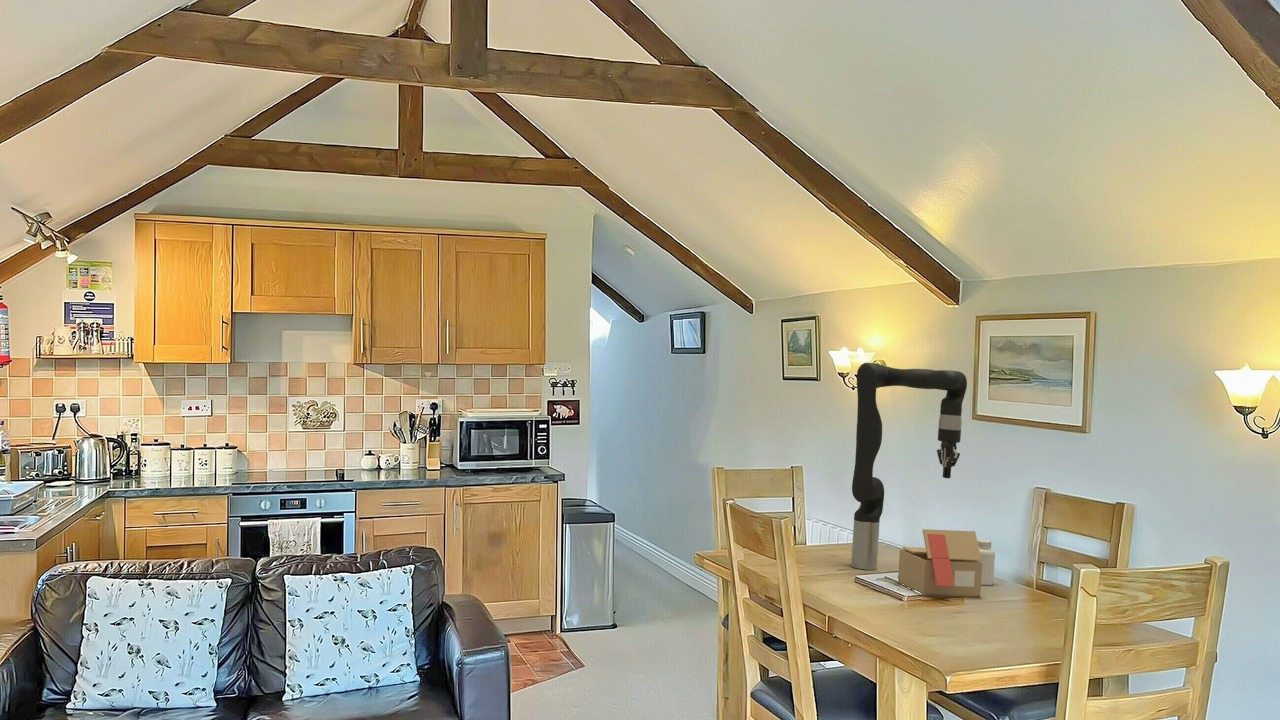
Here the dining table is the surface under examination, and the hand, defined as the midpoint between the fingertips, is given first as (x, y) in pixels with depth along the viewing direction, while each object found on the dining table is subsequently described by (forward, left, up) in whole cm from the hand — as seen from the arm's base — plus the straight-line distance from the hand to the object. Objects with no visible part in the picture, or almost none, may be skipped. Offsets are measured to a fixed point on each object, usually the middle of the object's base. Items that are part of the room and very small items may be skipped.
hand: (946, 478), depth 336 cm
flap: (+20, -6, -24) cm, 32 cm away
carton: (+10, -6, -37) cm, 38 cm away
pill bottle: (-3, +17, -37) cm, 41 cm away
